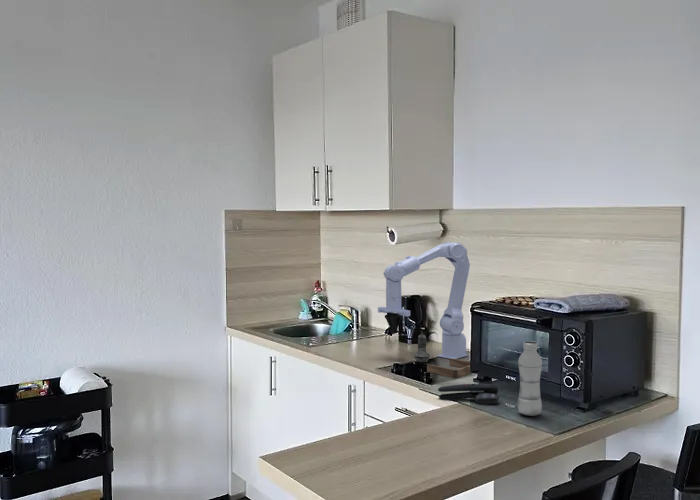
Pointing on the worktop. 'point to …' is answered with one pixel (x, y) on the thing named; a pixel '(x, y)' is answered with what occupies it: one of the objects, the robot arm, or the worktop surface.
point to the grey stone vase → (422, 350)
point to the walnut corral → (463, 369)
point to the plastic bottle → (530, 380)
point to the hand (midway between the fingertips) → (393, 333)
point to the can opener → (483, 397)
